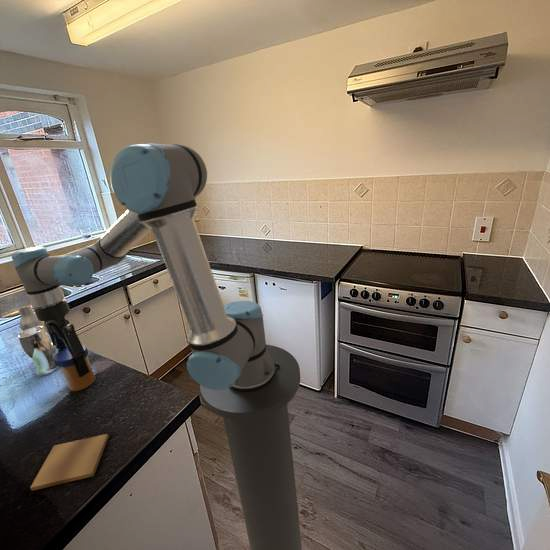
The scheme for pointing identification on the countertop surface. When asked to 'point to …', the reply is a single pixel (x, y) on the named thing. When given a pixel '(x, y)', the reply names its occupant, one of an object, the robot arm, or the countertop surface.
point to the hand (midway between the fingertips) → (77, 369)
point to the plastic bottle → (32, 322)
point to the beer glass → (38, 349)
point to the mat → (71, 462)
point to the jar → (74, 380)
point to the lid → (66, 357)
